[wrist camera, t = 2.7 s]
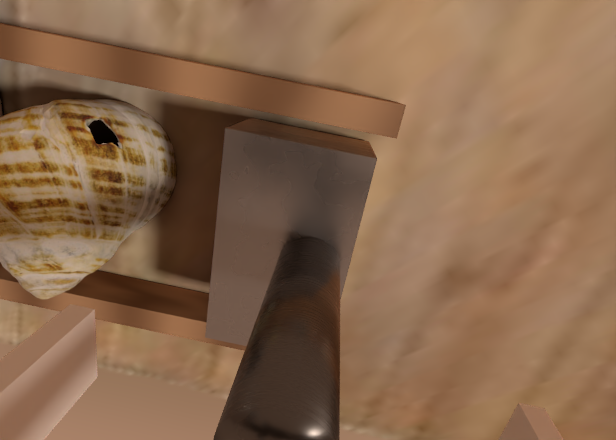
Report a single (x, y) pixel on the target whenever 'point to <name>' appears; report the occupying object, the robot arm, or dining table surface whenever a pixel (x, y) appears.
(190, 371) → the dining table surface
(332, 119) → the press frame
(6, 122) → the seashell
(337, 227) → the grey plunger
